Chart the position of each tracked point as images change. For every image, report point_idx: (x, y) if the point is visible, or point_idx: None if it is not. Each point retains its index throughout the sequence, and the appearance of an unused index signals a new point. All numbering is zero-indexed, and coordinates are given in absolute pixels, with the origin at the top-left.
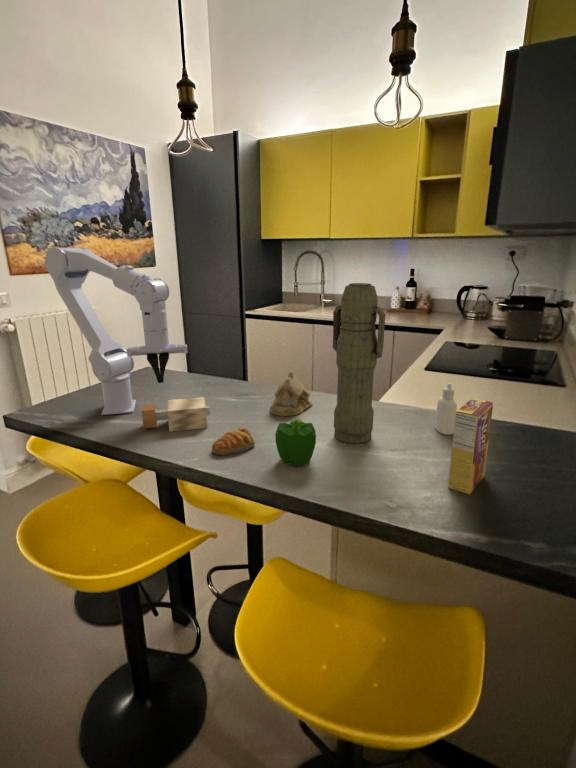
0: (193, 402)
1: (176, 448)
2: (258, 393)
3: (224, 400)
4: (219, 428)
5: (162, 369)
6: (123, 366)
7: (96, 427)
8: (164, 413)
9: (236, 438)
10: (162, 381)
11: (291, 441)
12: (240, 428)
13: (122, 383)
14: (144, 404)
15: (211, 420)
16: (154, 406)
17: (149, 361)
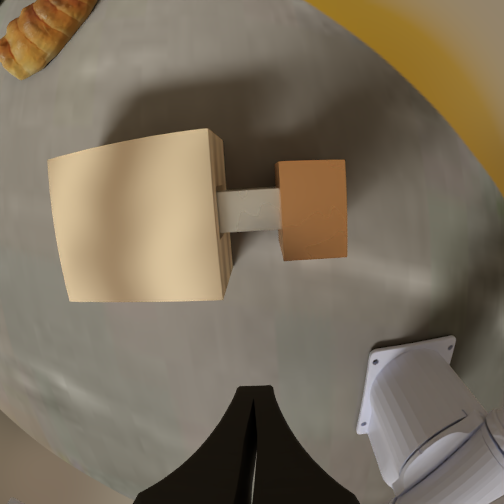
0: (96, 238)
1: (192, 12)
2: (25, 397)
3: (82, 386)
4: (62, 153)
5: (221, 444)
6: (440, 492)
7: (467, 240)
8: (236, 190)
9: (29, 7)
10: (241, 389)
11: None
12: (5, 61)
13: (432, 425)
14: (339, 257)
15: None
16: (285, 214)
17: (340, 494)
